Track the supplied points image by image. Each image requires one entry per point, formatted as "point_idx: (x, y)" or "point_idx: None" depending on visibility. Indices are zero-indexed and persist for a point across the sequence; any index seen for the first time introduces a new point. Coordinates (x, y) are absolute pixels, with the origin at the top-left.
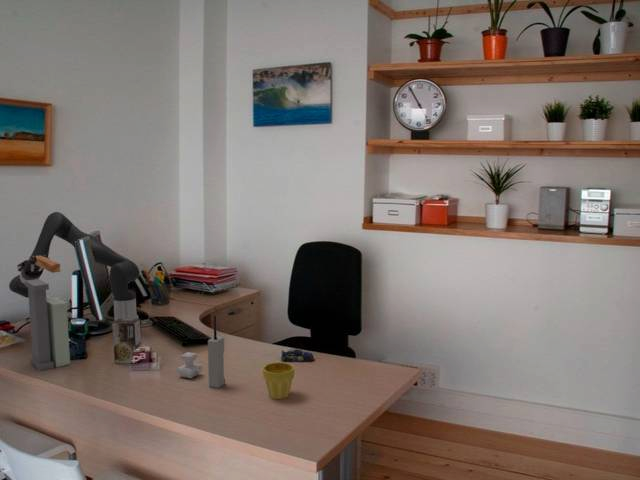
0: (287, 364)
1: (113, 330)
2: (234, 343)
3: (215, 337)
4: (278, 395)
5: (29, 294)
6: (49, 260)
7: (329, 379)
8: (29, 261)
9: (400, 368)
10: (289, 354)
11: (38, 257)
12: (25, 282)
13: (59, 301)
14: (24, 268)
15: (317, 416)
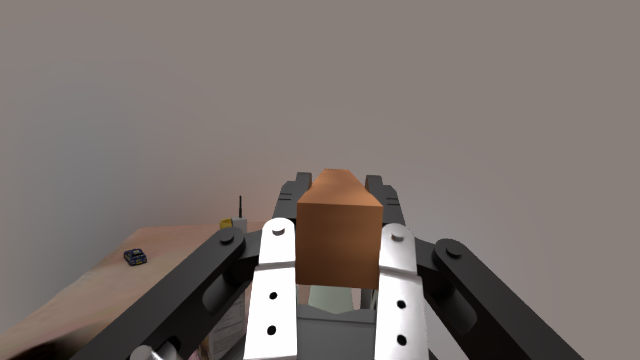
0: (221, 221)
1: (244, 300)
2: (54, 319)
3: (241, 215)
4: None
5: None
6: (329, 174)
7: (184, 239)
8: (416, 243)
9: (140, 230)
10: (143, 253)
11: (348, 188)
12: None
13: (321, 287)
14: (474, 351)
15: (249, 228)
